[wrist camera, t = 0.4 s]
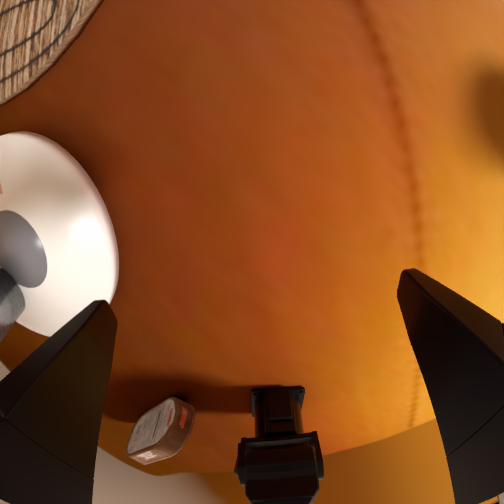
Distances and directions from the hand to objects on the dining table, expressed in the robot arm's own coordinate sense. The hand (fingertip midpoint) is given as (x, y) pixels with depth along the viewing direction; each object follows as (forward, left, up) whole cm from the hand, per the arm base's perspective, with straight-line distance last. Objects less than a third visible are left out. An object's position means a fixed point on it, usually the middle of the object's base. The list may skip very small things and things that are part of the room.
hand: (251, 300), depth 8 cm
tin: (-31, +13, -15) cm, 37 cm away
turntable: (-4, +21, -14) cm, 26 cm away
